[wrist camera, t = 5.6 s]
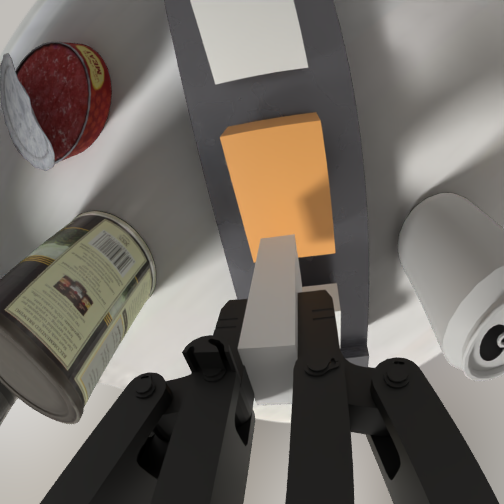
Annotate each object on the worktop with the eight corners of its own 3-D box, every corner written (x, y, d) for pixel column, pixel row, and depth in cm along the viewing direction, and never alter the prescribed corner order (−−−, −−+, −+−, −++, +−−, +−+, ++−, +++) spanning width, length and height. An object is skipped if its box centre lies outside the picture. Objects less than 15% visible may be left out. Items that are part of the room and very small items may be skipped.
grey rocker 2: (304, 61, 13) (308, 67, 12) (222, 76, 14) (215, 84, 13) (275, -54, 9) (275, -64, 7) (189, -34, 10) (177, -41, 8)
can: (379, 217, 21) (441, 334, 10) (460, 171, 18) (568, 249, 7) (411, 290, 23) (458, 408, 13) (482, 249, 20) (557, 346, 10)
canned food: (133, 124, 24) (86, 209, 19) (47, 126, 24) (-6, 200, 18) (120, 7, 15) (35, 60, 9) (21, 29, 14) (-60, 92, 9)
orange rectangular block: (331, 231, 17) (335, 253, 16) (257, 240, 18) (253, 262, 17) (315, 111, 14) (320, 120, 12) (228, 126, 14) (219, 137, 13)
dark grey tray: (360, 329, 26) (367, 368, 22) (261, 338, 27) (255, 377, 23) (308, -45, 12) (311, -76, 8) (177, -17, 14) (149, -39, 10)
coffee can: (64, 281, 28) (-16, 373, 16) (68, 194, 23) (-53, 280, 11) (147, 323, 29) (85, 441, 16) (169, 238, 24) (71, 374, 11)
